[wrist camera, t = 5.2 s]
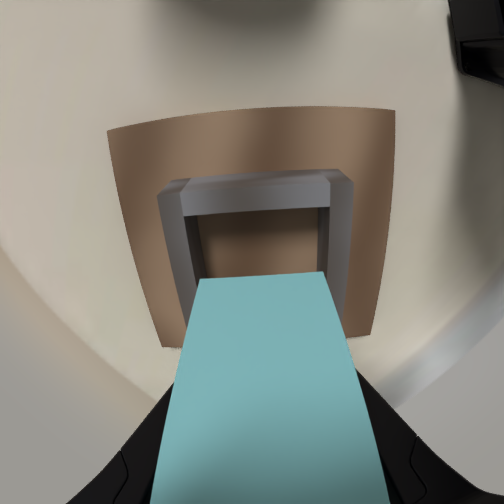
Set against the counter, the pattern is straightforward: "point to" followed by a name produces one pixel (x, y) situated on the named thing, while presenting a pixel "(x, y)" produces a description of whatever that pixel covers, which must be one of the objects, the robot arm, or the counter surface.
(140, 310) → the counter surface
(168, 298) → the well block
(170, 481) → the teal post
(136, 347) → the counter surface
